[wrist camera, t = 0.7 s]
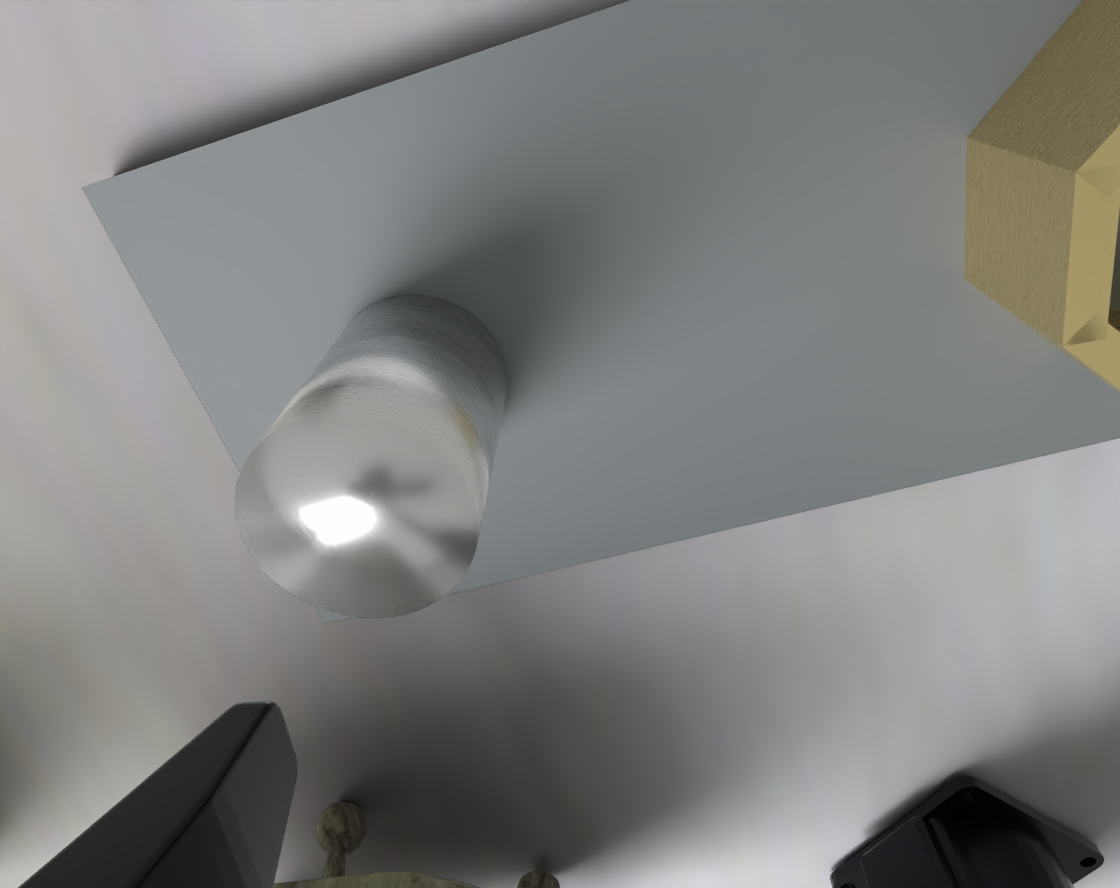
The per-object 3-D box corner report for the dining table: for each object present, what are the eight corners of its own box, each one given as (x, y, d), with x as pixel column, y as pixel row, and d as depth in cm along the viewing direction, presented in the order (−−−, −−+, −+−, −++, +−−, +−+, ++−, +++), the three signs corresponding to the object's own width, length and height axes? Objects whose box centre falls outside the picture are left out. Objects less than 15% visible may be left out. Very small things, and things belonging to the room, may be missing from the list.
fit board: (1438, -276, 14) (2162, -523, 8) (1344, 355, 19) (1723, 524, 13) (111, 177, 18) (-148, 266, 12) (335, 595, 23) (242, 815, 17)
